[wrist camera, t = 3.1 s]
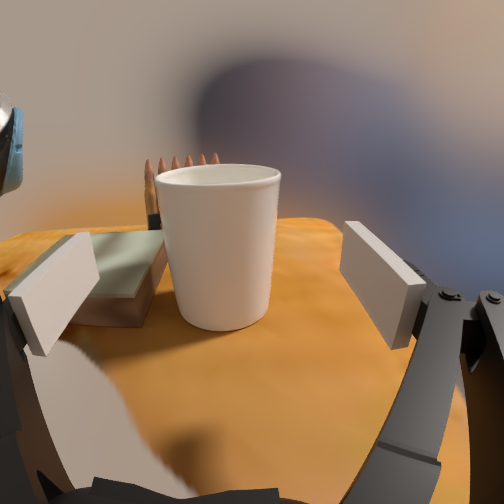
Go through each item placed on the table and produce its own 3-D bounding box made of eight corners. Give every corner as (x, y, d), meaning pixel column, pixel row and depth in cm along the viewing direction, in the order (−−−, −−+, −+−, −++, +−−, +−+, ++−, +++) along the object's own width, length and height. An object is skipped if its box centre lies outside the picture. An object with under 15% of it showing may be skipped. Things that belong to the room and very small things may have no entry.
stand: (14, 319, 24) (3, 290, 22) (70, 258, 38) (65, 235, 36) (141, 327, 25) (133, 293, 23) (170, 255, 38) (167, 229, 37)
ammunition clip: (151, 253, 39) (141, 160, 34) (149, 248, 40) (139, 159, 36) (227, 239, 43) (224, 152, 38) (223, 236, 44) (219, 151, 40)
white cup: (283, 283, 32) (286, 165, 27) (268, 345, 23) (271, 186, 18) (193, 274, 33) (184, 164, 29) (152, 327, 25) (129, 185, 20)
